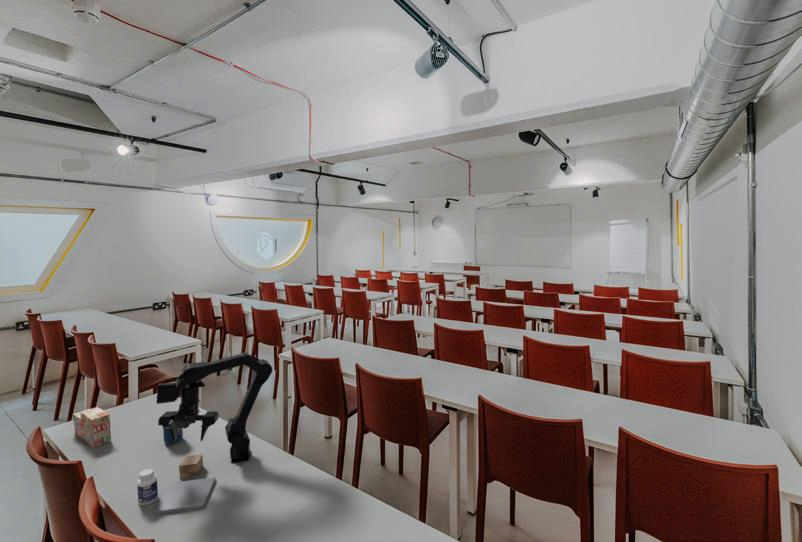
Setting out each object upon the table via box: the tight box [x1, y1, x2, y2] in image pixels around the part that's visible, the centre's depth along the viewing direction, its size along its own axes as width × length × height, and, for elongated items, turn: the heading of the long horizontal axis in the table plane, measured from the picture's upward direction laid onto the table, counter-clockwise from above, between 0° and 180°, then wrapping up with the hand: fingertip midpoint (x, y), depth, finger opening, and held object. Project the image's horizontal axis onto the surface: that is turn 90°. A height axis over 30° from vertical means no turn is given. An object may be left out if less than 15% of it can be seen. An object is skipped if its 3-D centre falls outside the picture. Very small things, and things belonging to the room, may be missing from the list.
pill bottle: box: [136, 468, 159, 506], centre depth 122 cm, size 5×5×10 cm
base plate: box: [153, 477, 217, 516], centre depth 124 cm, size 14×14×1 cm
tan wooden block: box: [178, 453, 204, 479], centre depth 137 cm, size 6×6×5 cm
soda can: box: [162, 410, 184, 445], centre depth 158 cm, size 7×7×12 cm
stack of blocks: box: [72, 407, 112, 448], centre depth 161 cm, size 21×6×12 cm, turn 58°
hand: (188, 440), depth 136 cm, fingers open, 9 cm apart
